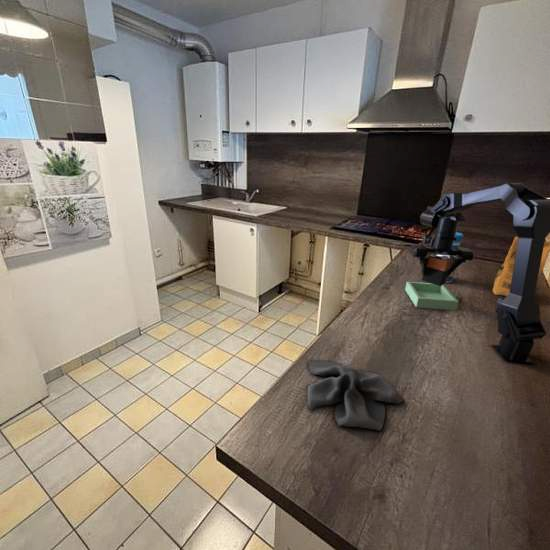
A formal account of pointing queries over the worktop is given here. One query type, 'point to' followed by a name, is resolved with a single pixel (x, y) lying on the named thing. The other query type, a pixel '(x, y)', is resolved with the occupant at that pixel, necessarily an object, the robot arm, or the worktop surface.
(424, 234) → the robot arm
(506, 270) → the coffee package
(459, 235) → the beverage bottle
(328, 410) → the worktop surface
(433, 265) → the battery
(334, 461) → the worktop surface
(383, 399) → the cloth
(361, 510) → the worktop surface
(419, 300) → the tray
